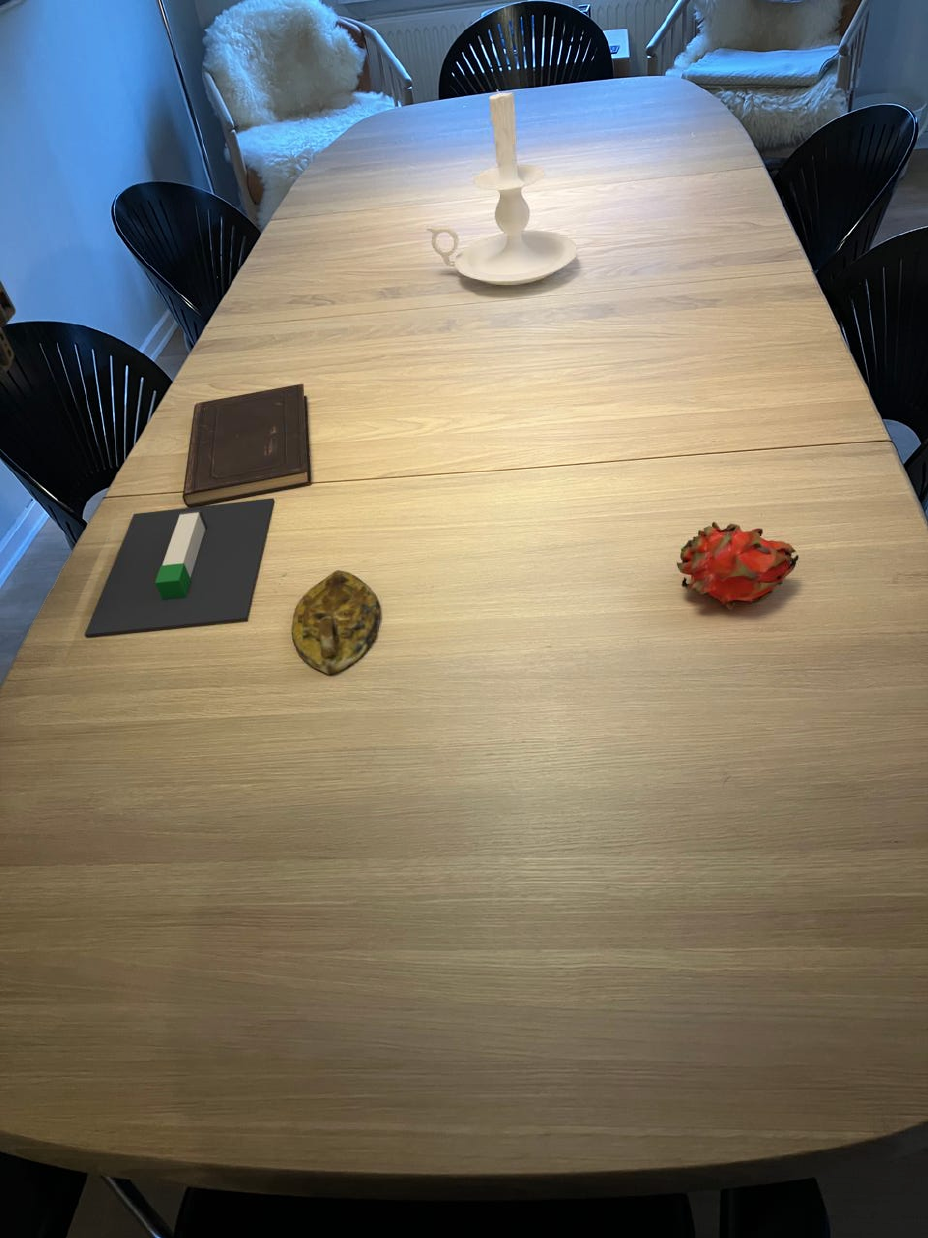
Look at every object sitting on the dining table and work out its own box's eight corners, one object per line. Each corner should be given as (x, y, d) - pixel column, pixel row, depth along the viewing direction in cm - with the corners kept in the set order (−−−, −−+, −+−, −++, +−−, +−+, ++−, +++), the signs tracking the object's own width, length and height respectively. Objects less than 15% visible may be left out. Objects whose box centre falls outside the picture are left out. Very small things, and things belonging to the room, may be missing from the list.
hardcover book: (306, 397, 134) (303, 382, 132) (311, 484, 117) (307, 469, 115) (197, 417, 133) (192, 403, 132) (186, 508, 116) (180, 493, 115)
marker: (185, 528, 112) (179, 512, 111) (207, 526, 112) (201, 509, 110) (162, 599, 103) (154, 582, 101) (186, 597, 103) (178, 580, 101)
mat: (86, 637, 100) (84, 634, 100) (135, 516, 116) (133, 513, 116) (247, 621, 99) (246, 617, 99) (274, 501, 115) (273, 497, 115)
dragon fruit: (664, 602, 96) (779, 606, 96) (684, 612, 87) (810, 615, 87) (669, 520, 94) (785, 523, 95) (689, 521, 86) (817, 525, 86)
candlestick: (444, 253, 167) (420, 79, 148) (581, 244, 162) (575, 64, 143) (423, 304, 152) (393, 118, 133) (573, 296, 147) (565, 102, 128)
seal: (299, 592, 103) (294, 688, 92) (284, 560, 100) (276, 655, 89) (379, 572, 102) (383, 666, 91) (366, 539, 99) (369, 633, 88)
